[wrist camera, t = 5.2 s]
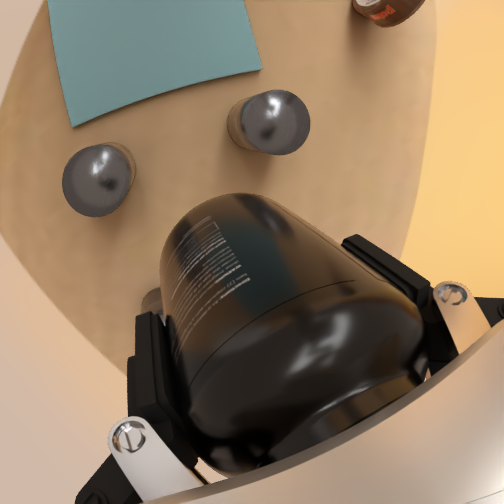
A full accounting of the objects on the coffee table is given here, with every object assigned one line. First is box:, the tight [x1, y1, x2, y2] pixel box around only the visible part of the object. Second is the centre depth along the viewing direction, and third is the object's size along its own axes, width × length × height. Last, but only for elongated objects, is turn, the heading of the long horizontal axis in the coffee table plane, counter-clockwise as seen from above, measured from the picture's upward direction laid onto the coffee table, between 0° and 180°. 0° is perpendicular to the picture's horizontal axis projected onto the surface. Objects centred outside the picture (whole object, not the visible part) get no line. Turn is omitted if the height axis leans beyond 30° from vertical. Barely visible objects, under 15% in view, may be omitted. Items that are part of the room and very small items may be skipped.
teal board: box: [48, 0, 262, 128], centre depth 15 cm, size 12×14×1 cm
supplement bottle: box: [160, 193, 431, 478], centre depth 9 cm, size 7×7×12 cm
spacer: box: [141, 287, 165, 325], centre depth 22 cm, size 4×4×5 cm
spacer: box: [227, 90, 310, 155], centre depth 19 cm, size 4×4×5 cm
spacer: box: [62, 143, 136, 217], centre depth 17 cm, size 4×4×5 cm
